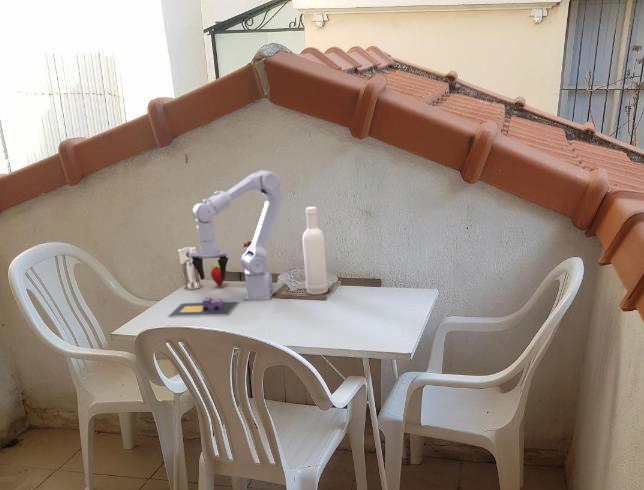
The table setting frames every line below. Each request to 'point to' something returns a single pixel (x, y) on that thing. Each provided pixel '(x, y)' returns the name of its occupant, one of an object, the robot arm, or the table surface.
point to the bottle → (314, 255)
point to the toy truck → (212, 304)
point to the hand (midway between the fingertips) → (213, 278)
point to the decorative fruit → (217, 274)
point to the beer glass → (189, 268)
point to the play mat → (201, 309)
